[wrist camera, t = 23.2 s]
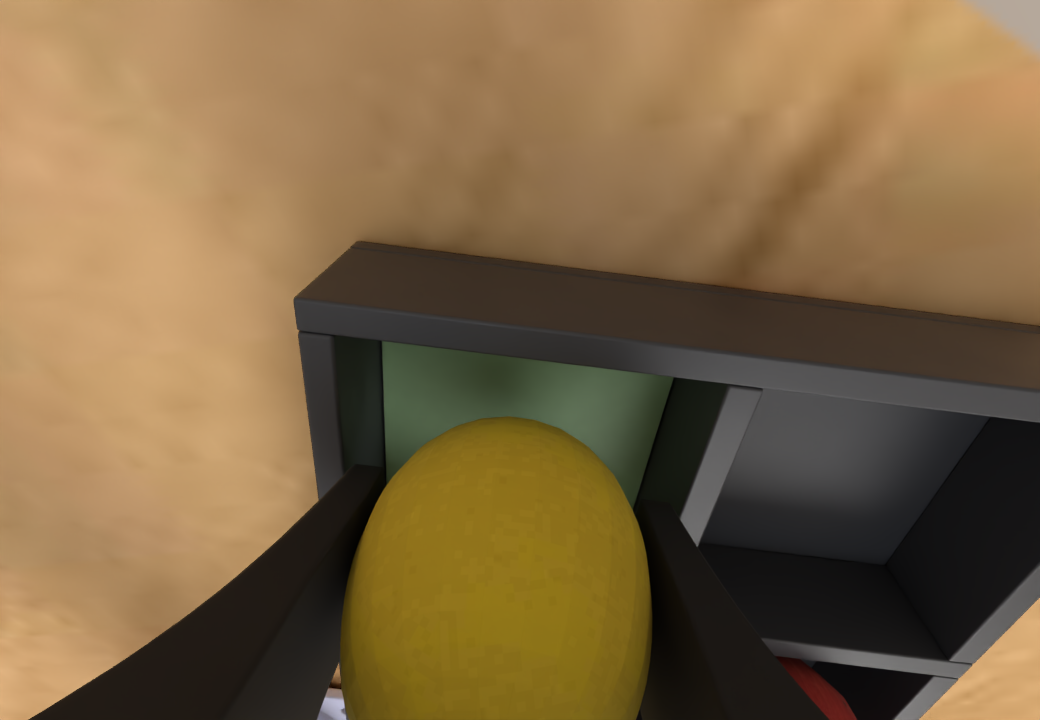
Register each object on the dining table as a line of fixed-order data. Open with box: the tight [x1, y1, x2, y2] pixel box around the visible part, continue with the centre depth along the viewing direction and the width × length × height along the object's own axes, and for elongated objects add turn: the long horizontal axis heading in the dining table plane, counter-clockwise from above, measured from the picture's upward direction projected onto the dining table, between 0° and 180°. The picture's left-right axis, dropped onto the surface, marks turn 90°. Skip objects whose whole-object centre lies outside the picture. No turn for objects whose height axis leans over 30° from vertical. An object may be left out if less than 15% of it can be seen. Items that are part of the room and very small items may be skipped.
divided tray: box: [294, 242, 1040, 720], centre depth 15 cm, size 17×17×4 cm
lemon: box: [340, 416, 652, 720], centre depth 10 cm, size 6×6×8 cm
